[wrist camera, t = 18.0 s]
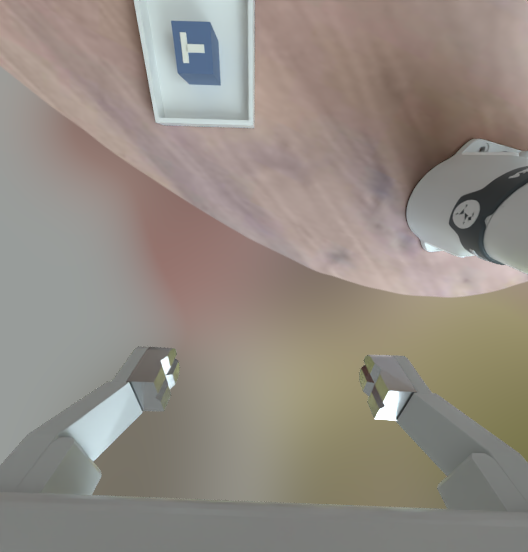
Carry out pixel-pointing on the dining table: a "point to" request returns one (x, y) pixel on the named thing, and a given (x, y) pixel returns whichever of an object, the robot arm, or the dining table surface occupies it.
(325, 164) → the dining table surface
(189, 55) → the letter cube
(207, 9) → the tray offwhite
